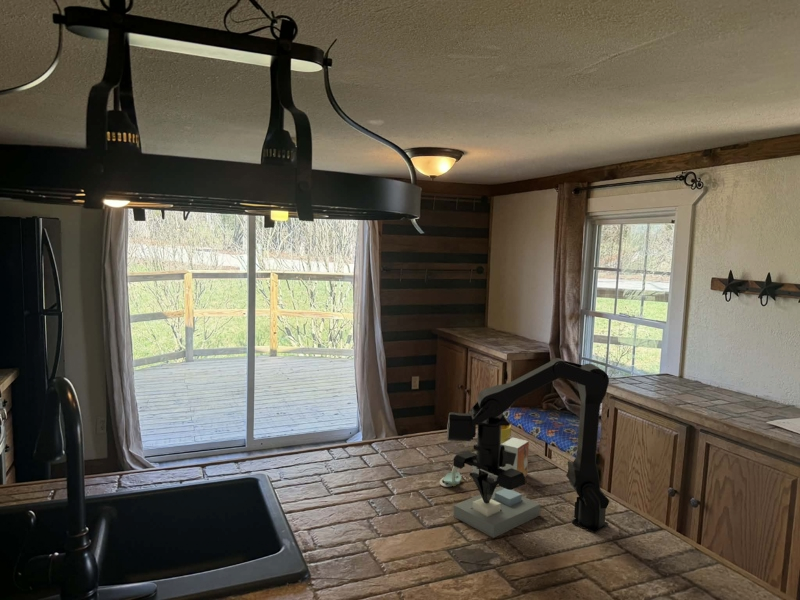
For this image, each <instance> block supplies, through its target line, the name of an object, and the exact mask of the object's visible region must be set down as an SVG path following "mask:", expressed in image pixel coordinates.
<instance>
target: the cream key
mask: <svg viewBox="0 0 800 600" xmlns="http://www.w3.org/2000/svg"><path fill="white" fill-rule="evenodd" d="M473 510H475V511H477V512H479V513H481V514H482V515H484V516H486V517H489V516H491V515H493V514H495V513H498V512H500V503H498V502H496V501H494V500H492V499H491V500H490V502H489V503H484V501H483V499H482V498H481V499H478V500H476V501H473Z"/></svg>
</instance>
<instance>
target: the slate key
mask: <svg viewBox="0 0 800 600" xmlns="http://www.w3.org/2000/svg"><path fill="white" fill-rule="evenodd" d="M522 496H523V495H522V493H520V492H518V491H515V490H514V489H512V490H508V489H503V490H500V491H498V492H495V500H496V501H498V502H500V503H502V504H504V505H506V506H508V507H511V506H513V505H516V504H518V503H520V502H521V499H522Z"/></svg>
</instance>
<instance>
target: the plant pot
mask: <svg viewBox="0 0 800 600" xmlns="http://www.w3.org/2000/svg"><path fill="white" fill-rule="evenodd" d="M511 434H512V425H511V424H510V425H509V426H501V444H502V443H504V442H506V441H508V440H509V438H511Z"/></svg>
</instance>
